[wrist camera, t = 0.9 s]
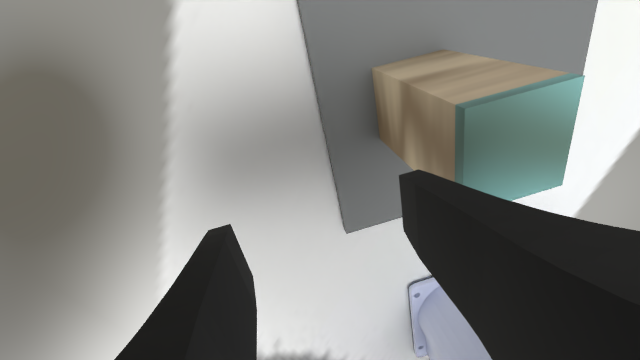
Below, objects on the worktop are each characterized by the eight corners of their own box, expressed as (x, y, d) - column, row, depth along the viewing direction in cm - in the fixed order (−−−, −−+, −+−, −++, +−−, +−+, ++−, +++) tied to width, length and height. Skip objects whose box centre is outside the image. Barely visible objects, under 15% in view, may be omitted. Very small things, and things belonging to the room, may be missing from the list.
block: (444, 121, 19) (562, 184, 12) (380, 138, 18) (462, 215, 11) (443, 49, 17) (584, 75, 10) (371, 67, 16) (464, 108, 9)
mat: (557, 165, 23) (563, 168, 22) (344, 229, 22) (346, 233, 21) (614, -132, 15) (625, -136, 15) (284, -61, 14) (285, -63, 13)
